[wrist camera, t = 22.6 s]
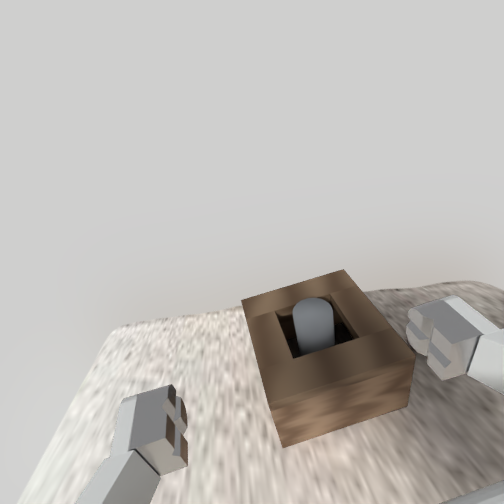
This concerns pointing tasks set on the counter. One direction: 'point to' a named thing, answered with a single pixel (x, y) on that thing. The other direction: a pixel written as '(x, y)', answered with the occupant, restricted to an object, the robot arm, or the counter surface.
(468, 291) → the counter surface
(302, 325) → the grey rubber peg
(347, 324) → the walnut drop box
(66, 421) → the counter surface
